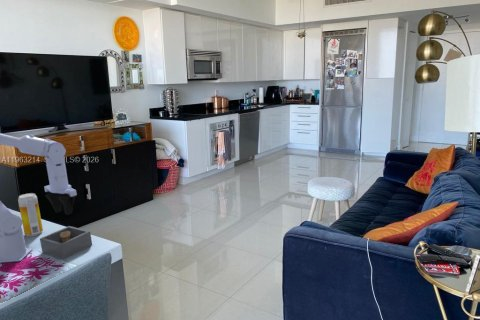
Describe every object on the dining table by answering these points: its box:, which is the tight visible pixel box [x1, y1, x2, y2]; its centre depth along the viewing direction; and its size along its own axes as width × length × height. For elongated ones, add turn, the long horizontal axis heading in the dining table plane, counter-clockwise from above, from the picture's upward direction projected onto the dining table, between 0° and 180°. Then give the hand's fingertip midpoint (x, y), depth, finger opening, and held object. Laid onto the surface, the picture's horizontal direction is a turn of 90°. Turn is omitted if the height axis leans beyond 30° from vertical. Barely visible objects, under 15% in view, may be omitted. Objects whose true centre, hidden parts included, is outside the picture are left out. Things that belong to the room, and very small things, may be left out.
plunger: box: [60, 231, 71, 243], centre depth 123 cm, size 8×8×5 cm
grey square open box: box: [39, 225, 93, 260], centre depth 123 cm, size 11×11×5 cm
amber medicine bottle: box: [17, 192, 44, 237], centre depth 135 cm, size 6×6×15 cm
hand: (63, 212), depth 129 cm, fingers open, 5 cm apart
